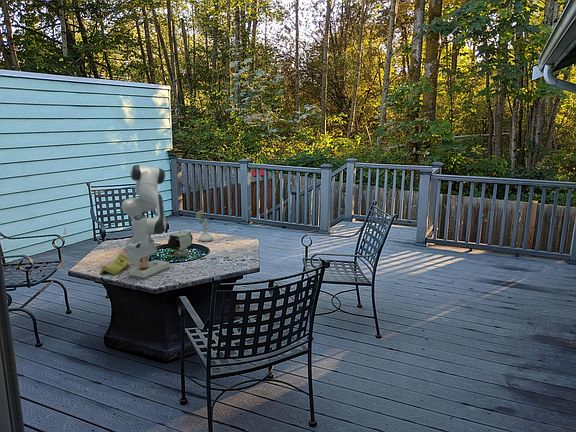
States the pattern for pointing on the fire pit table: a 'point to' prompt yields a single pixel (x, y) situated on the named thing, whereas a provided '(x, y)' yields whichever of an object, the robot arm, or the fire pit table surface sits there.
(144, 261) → the brown cylinder
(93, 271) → the fire pit table surface
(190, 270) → the fire pit table surface
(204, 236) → the flower in vase
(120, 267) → the plastic component
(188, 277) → the fire pit table surface
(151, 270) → the fitting block
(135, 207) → the robot arm
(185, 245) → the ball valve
